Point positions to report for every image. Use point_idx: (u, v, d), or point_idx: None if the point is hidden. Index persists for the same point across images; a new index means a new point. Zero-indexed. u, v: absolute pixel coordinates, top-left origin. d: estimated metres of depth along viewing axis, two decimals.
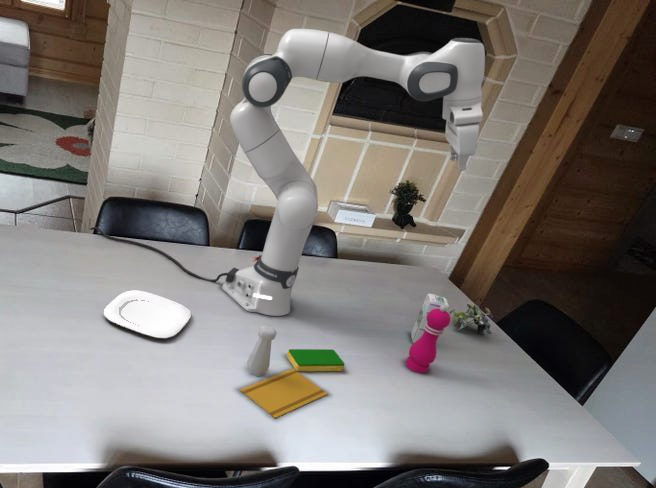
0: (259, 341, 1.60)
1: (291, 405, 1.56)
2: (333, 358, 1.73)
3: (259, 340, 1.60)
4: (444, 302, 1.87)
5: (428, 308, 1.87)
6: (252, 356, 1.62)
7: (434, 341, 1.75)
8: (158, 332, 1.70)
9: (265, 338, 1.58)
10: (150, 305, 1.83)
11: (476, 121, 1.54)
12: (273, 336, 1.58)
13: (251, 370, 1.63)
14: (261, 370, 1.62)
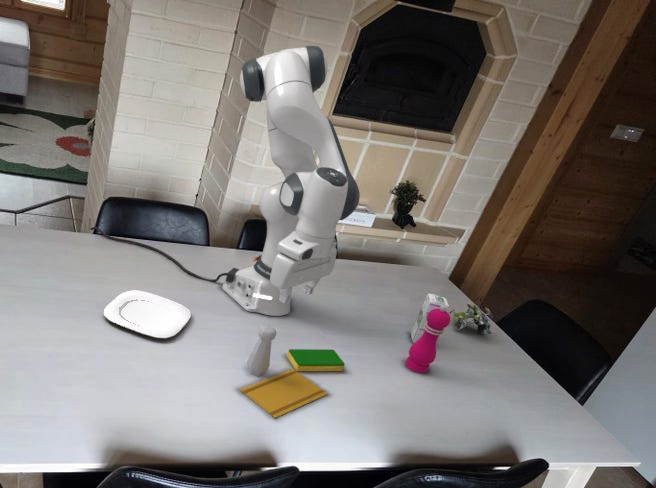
0: (259, 341, 1.60)
1: (291, 405, 1.56)
2: (333, 358, 1.73)
3: (259, 340, 1.60)
4: (444, 302, 1.87)
5: (428, 308, 1.87)
6: (252, 356, 1.62)
7: (434, 341, 1.75)
8: (158, 332, 1.70)
9: (265, 338, 1.58)
10: (150, 305, 1.83)
11: (293, 257, 1.39)
12: (273, 336, 1.58)
13: (251, 370, 1.63)
14: (261, 370, 1.62)
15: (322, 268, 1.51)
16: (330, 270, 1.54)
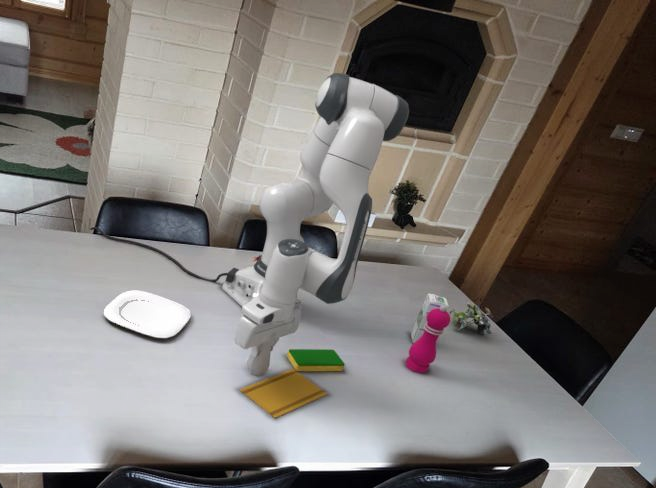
0: None
1: (291, 405, 1.56)
2: (333, 358, 1.73)
3: None
4: (444, 302, 1.87)
5: (428, 308, 1.87)
6: (252, 356, 1.62)
7: (434, 341, 1.75)
8: (158, 332, 1.70)
9: None
10: (150, 305, 1.83)
11: (255, 321, 1.50)
12: (273, 336, 1.58)
13: (251, 370, 1.63)
14: (261, 370, 1.62)
15: (287, 327, 1.61)
16: (295, 328, 1.64)
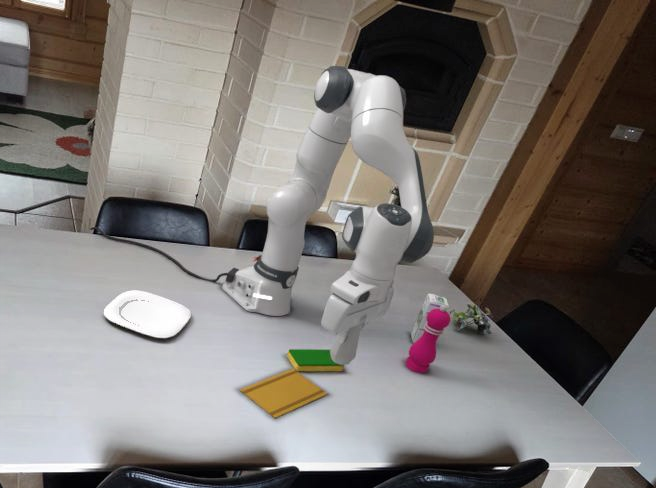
0: None
1: (291, 405, 1.56)
2: None
3: None
4: (444, 302, 1.87)
5: (428, 308, 1.87)
6: (338, 342, 1.41)
7: (434, 341, 1.75)
8: (158, 332, 1.70)
9: None
10: (150, 305, 1.83)
11: (348, 300, 1.29)
12: (364, 319, 1.37)
13: (336, 358, 1.43)
14: (348, 359, 1.42)
15: (378, 309, 1.40)
16: (385, 310, 1.43)
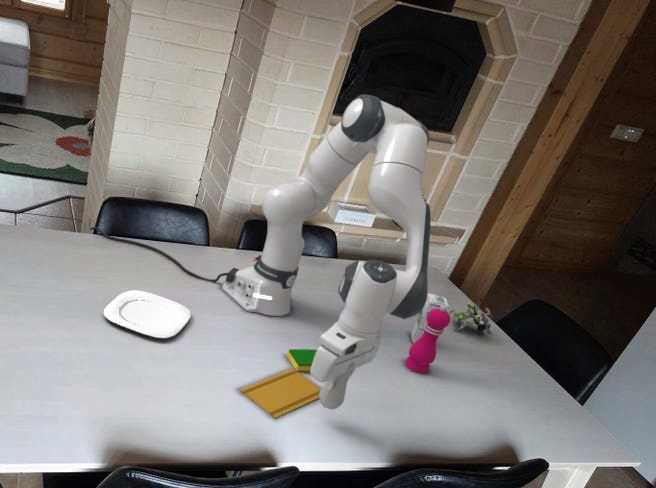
0: None
1: (291, 405, 1.56)
2: None
3: None
4: (444, 302, 1.87)
5: (428, 308, 1.87)
6: None
7: (434, 341, 1.75)
8: (158, 332, 1.70)
9: None
10: (150, 305, 1.83)
11: (335, 352, 1.34)
12: (352, 367, 1.43)
13: (325, 403, 1.48)
14: (337, 404, 1.47)
15: (365, 356, 1.45)
16: (372, 357, 1.48)
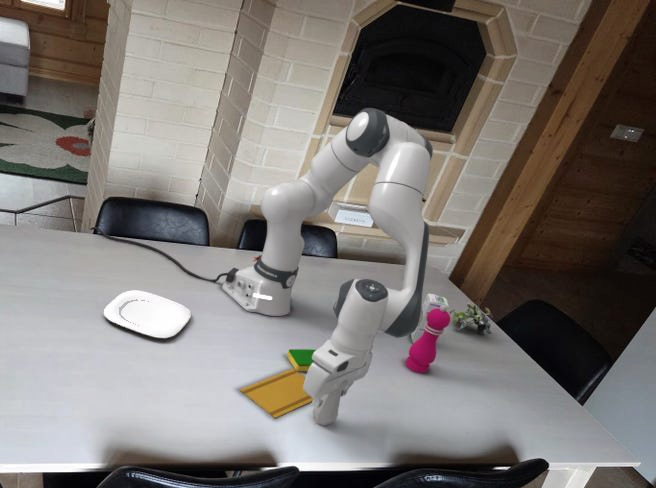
0: None
1: (291, 405, 1.56)
2: None
3: None
4: (444, 302, 1.87)
5: (428, 308, 1.87)
6: None
7: (434, 341, 1.75)
8: (158, 332, 1.70)
9: None
10: (150, 305, 1.83)
11: (328, 369, 1.37)
12: (344, 385, 1.46)
13: (318, 420, 1.51)
14: (330, 420, 1.50)
15: (357, 372, 1.48)
16: (365, 373, 1.51)
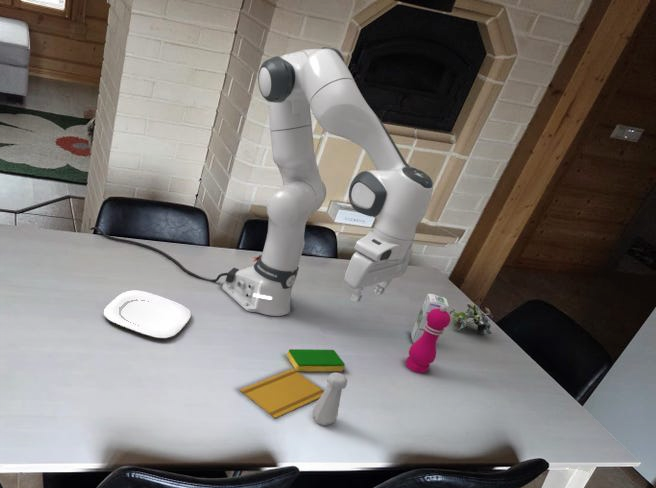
0: (328, 389, 1.48)
1: (291, 405, 1.56)
2: (333, 358, 1.73)
3: (328, 388, 1.48)
4: (444, 302, 1.87)
5: (428, 308, 1.87)
6: (320, 405, 1.49)
7: (434, 341, 1.75)
8: (158, 332, 1.70)
9: (335, 387, 1.45)
10: (150, 305, 1.83)
11: (371, 257, 1.38)
12: (344, 385, 1.46)
13: (318, 420, 1.51)
14: (330, 420, 1.50)
15: (396, 269, 1.49)
16: (403, 271, 1.52)
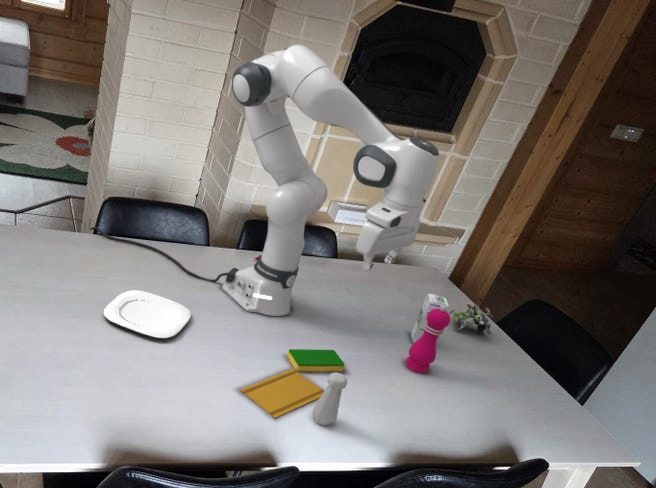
0: (328, 389, 1.48)
1: (291, 405, 1.56)
2: (333, 358, 1.73)
3: (328, 388, 1.48)
4: (444, 302, 1.87)
5: (428, 308, 1.87)
6: (320, 405, 1.49)
7: (434, 341, 1.75)
8: (158, 332, 1.70)
9: (335, 387, 1.45)
10: (150, 305, 1.83)
11: (381, 224, 1.43)
12: (344, 385, 1.46)
13: (318, 420, 1.51)
14: (330, 420, 1.50)
15: (406, 237, 1.54)
16: (412, 240, 1.57)
